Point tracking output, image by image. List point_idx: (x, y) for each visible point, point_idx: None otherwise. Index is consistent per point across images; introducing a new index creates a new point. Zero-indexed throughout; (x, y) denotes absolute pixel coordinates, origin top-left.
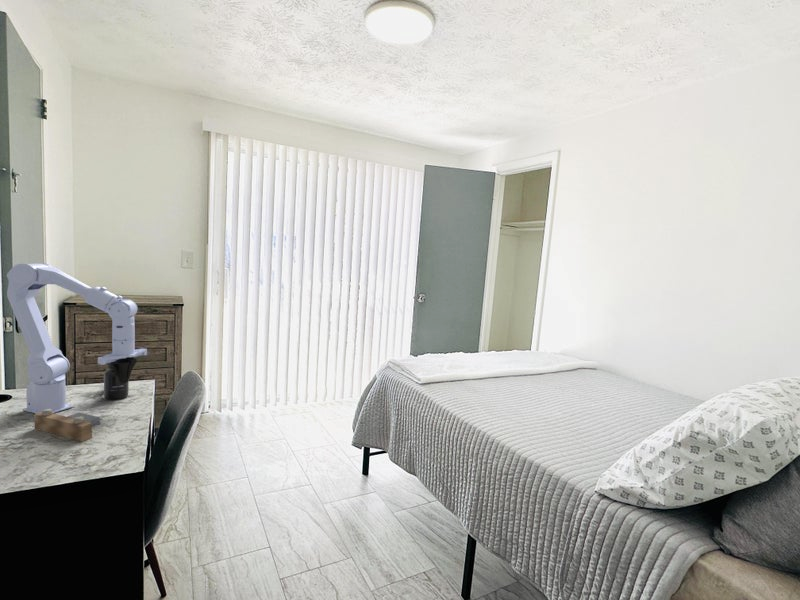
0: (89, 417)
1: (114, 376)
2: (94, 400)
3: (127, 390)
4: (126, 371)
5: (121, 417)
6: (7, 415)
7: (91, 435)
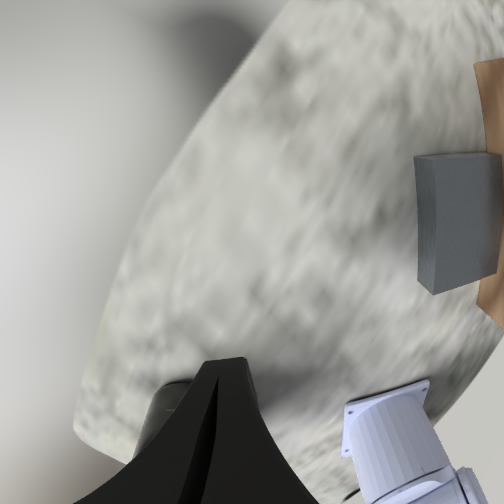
0: (453, 196)
1: None
2: None
3: (155, 405)
4: (226, 446)
5: (316, 155)
6: (438, 420)
7: (480, 63)
